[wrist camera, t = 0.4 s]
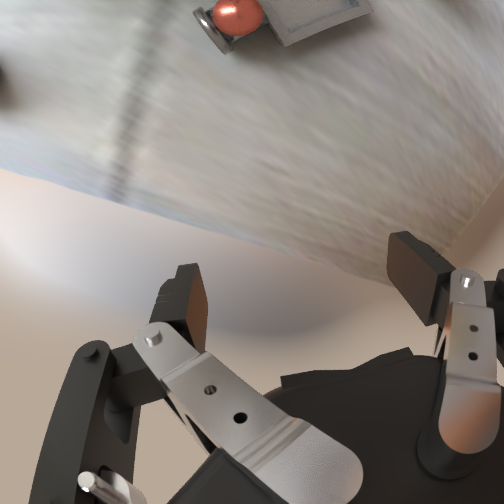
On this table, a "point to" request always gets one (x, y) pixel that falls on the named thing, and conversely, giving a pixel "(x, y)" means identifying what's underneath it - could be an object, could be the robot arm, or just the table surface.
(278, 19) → the grey piece
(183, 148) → the table surface
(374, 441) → the robot arm
